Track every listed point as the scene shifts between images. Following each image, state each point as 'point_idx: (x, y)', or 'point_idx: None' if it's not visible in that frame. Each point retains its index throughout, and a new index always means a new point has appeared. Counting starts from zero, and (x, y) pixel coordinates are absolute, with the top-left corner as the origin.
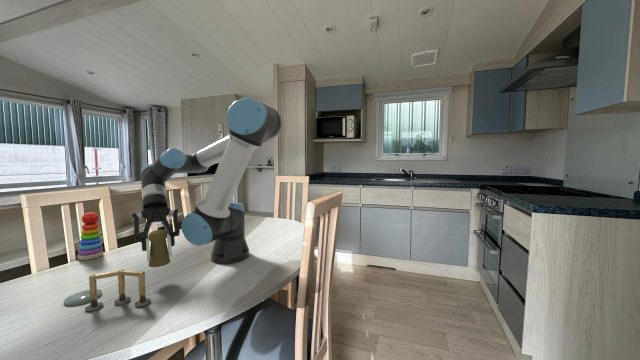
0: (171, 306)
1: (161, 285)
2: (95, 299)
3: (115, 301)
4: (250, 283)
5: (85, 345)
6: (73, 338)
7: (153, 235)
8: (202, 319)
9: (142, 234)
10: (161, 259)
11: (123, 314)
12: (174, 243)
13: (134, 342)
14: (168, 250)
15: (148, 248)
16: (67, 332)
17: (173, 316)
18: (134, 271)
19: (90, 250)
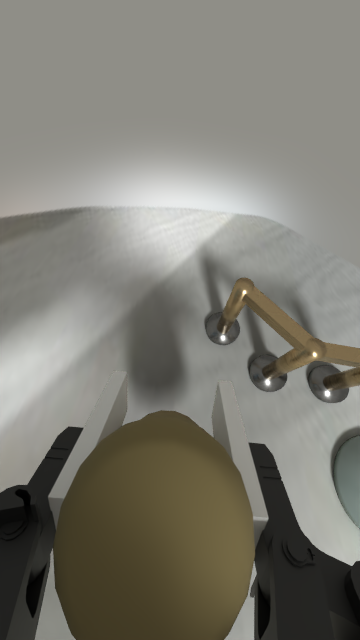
0: (170, 279)
1: None
2: (337, 373)
3: (284, 374)
4: None
5: (299, 250)
6: (325, 280)
7: (210, 439)
8: (136, 209)
9: (330, 620)
10: (162, 413)
11: None
12: (65, 431)
13: (234, 217)
14: None
15: (231, 420)
16: (343, 306)
17: (174, 244)
18: (267, 309)
19: None
